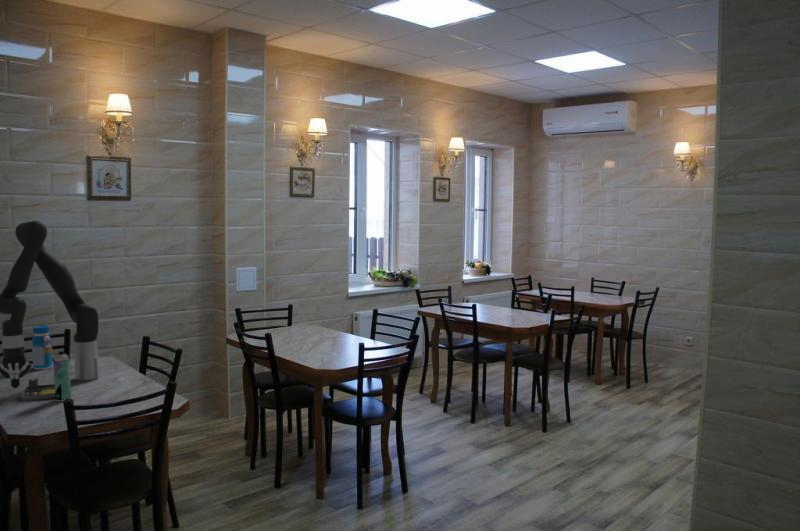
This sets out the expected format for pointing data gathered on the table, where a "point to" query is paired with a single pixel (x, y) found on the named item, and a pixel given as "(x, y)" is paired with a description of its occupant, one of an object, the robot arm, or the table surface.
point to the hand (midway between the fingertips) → (15, 387)
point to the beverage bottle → (42, 348)
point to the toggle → (33, 383)
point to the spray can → (62, 376)
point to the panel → (39, 392)
